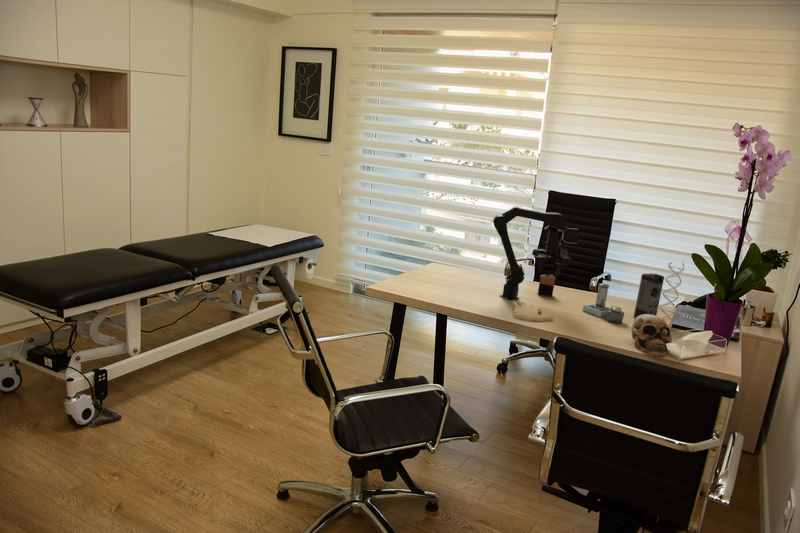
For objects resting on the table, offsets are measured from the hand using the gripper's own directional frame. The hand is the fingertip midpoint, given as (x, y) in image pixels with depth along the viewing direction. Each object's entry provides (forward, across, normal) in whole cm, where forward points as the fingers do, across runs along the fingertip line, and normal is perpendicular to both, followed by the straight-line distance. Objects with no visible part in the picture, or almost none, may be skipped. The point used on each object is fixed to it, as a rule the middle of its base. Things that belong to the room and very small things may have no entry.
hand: (548, 274), depth 279 cm
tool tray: (+13, -20, -14) cm, 28 cm away
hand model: (+14, -14, +21) cm, 29 cm away
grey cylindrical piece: (+12, -20, -14) cm, 27 cm away
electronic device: (+13, -32, -30) cm, 46 cm away
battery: (+13, +10, -11) cm, 20 cm away
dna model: (+13, -48, -20) cm, 54 cm away
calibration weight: (+13, -30, -11) cm, 35 cm away
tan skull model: (+13, -58, +4) cm, 60 cm away
